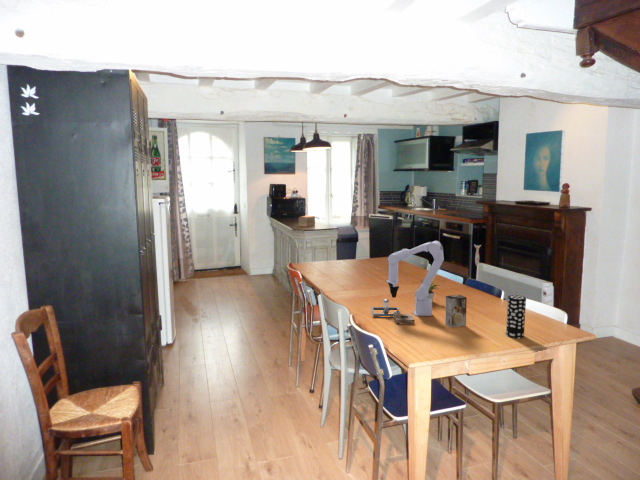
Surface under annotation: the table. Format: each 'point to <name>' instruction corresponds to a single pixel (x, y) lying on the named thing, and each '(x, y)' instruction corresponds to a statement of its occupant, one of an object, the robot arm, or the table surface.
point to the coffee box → (456, 310)
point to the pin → (386, 306)
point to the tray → (382, 312)
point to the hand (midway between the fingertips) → (393, 295)
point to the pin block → (404, 318)
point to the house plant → (431, 293)
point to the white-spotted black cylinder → (516, 316)
